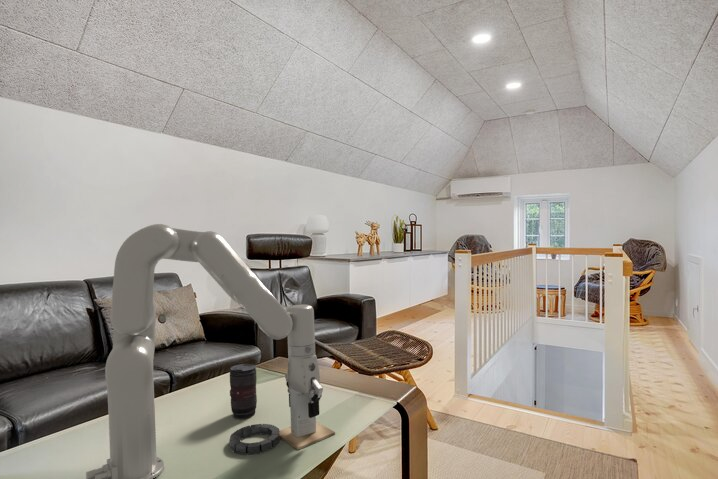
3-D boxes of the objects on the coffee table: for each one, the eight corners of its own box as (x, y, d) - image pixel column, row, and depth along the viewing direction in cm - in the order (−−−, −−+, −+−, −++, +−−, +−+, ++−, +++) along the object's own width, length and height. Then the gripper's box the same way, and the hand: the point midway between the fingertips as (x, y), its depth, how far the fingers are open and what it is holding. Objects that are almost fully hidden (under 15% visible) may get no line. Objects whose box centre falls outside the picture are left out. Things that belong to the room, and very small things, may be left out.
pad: (298, 449, 105) (298, 447, 105) (274, 434, 114) (274, 432, 114) (335, 434, 113) (335, 431, 113) (310, 420, 122) (310, 418, 122)
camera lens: (250, 420, 124) (248, 371, 124) (226, 419, 125) (224, 370, 125) (262, 409, 132) (260, 363, 132) (239, 408, 133) (237, 362, 133)
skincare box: (297, 438, 110) (295, 393, 110) (290, 432, 114) (288, 388, 114) (317, 431, 114) (315, 388, 114) (310, 426, 117) (308, 383, 117)
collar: (243, 460, 101) (243, 452, 101) (222, 442, 111) (221, 434, 111) (288, 441, 110) (288, 434, 110) (265, 426, 119) (265, 419, 119)
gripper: (331, 352, 110) (333, 416, 110) (296, 342, 123) (298, 399, 123) (307, 358, 105) (310, 425, 105) (274, 347, 118) (276, 406, 118)
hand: (304, 411), depth 114 cm, fingers open, 9 cm apart
